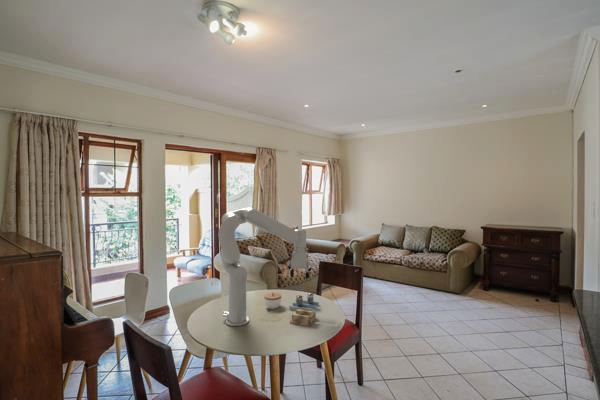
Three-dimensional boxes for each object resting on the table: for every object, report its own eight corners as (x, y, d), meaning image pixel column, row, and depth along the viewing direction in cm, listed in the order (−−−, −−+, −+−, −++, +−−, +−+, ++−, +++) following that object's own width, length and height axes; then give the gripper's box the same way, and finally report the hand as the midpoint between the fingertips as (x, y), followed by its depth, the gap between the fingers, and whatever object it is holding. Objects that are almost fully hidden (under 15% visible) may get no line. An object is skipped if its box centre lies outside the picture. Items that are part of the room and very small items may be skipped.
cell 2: (306, 306, 183) (306, 293, 183) (308, 304, 186) (308, 291, 186) (312, 307, 182) (312, 294, 181) (314, 305, 185) (314, 292, 185)
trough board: (288, 311, 179) (288, 306, 179) (295, 303, 191) (295, 299, 191) (313, 314, 173) (313, 309, 173) (319, 306, 186) (319, 302, 186)
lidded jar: (283, 305, 188) (283, 290, 188) (279, 311, 177) (279, 296, 177) (266, 304, 190) (267, 289, 190) (261, 310, 179) (261, 295, 179)
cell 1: (297, 307, 182) (297, 294, 182) (303, 307, 181) (303, 294, 181) (295, 309, 179) (295, 296, 179) (301, 310, 178) (301, 296, 177)
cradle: (289, 323, 162) (289, 314, 162) (296, 316, 171) (296, 308, 171) (310, 326, 158) (310, 318, 158) (316, 319, 167) (316, 311, 167)
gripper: (315, 249, 180) (315, 277, 180) (288, 247, 186) (288, 274, 186) (311, 251, 173) (311, 280, 173) (284, 249, 179) (284, 277, 179)
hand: (299, 277), depth 180 cm, fingers open, 9 cm apart
